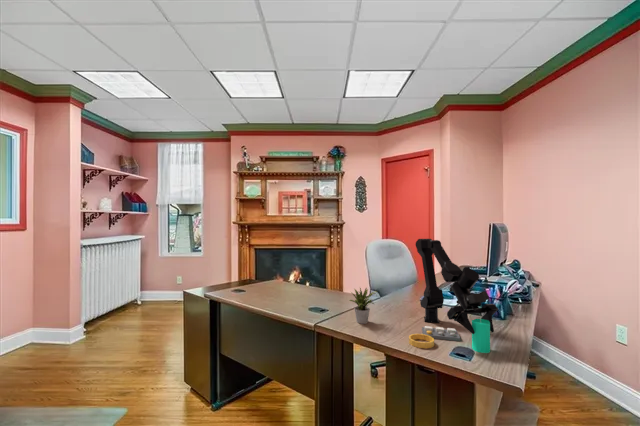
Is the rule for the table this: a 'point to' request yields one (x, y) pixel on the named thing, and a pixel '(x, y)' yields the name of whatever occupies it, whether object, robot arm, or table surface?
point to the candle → (481, 335)
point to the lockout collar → (421, 344)
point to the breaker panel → (441, 333)
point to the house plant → (362, 306)
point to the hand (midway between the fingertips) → (483, 332)
